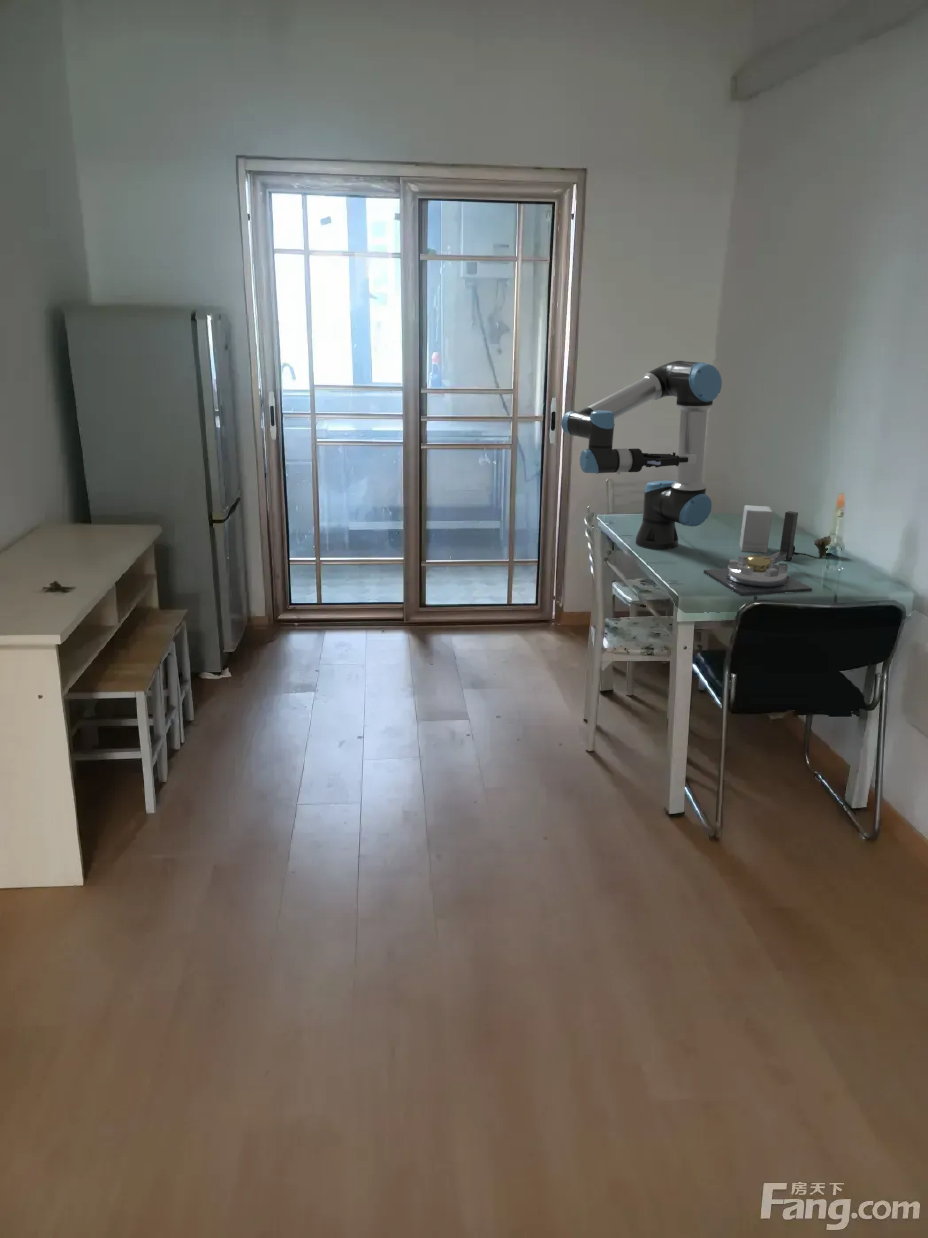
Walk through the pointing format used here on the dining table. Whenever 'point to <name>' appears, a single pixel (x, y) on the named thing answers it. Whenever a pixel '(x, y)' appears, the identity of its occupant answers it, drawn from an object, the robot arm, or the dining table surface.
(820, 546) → the artificial flower
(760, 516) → the supplement box
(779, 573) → the round grey fixture
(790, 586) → the flange plate
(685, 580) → the dining table surface
